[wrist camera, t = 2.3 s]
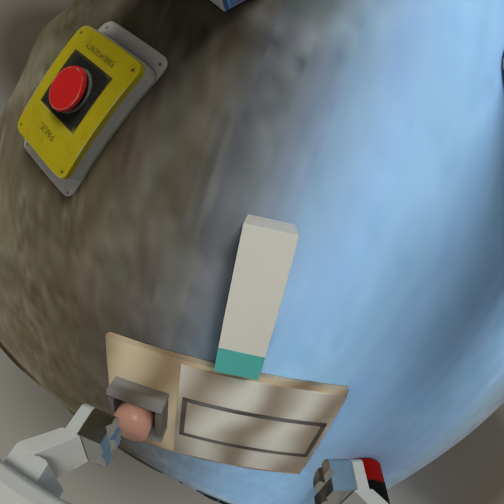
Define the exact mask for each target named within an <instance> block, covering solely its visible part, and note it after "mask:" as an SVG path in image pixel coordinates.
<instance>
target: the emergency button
mask: <svg viewBox="0 0 504 504" xmlns="http://www.w3.org/2000/svg"><path fill="white" fill-rule="evenodd" d="M167 66H168V61H167V59H166V57H165V56H163V55H162V54H160V53H159V52H158V51H156V50H155V49H153V48H152V47H151V46H149V45H148V44H146V43H145V42H143V41H142V40H141V39H139V38H138V37H136V36H135V35H133V34H132V33H130V32H129V31H127V30H126V29H124V28H123V27H121V26H120V25H118V24H116V23H115V22H112V21H110V22H107V23H105V24H104V25H102V26H101V27H100V28H99V29H98V30H96V29H95V28H92V27H89V26H84V27H81V28H80V29H79V30H78V31H77V32H76V33H75V35H74V36H73V37H72V38H71V40H70V41H69V42H68V44H67V45H66V46H65V48H64V49H63V50H62V52H61V53H60V54H59V56H58V57H57V58H56V60H55V61H54V63H53V64H52V66H51V67H50V69H49V70H48V72H47V73H46V75H45V76H44V78H43V79H42V81H41V82H40V84H39V85H38V87H37V89H36V90H35V92H34V94H33V95H32V97H31V99H30V100H29V102H28V104H27V106H26V108H25V109H24V111H23V113H22V115H21V117H20V119H19V122H18V129H19V132H20V133H21V134H22V135H23V137H24V138H25V142H24V147H25V149H26V151H27V152H28V153H29V155H30V156H31V157H32V158H33V160H34V161H35V162H36V163H37V164H38V166H39V167H40V168H41V169H42V170H43V172H44V173H45V174H46V175H47V176H48V178H49V179H50V180H51V181H52V182H53V183H54V185H55V186H56V187H57V188H58V189H59V190H60V192H61V193H62V194H63V195H65V196H66V197H68V196H72V195H73V194H74V193H75V192H76V190H77V189H78V187H79V185H80V184H81V182H82V180H83V179H84V177H85V176H86V174H87V172H88V171H89V169H90V168H91V166H92V165H93V163H94V162H95V160H96V159H97V157H98V156H99V154H100V153H101V151H102V150H103V148H104V147H105V145H106V144H107V143H108V141H109V140H110V138H111V137H112V136H113V134H114V133H115V132H116V130H117V129H118V128H119V126H120V125H121V124H122V122H123V121H124V120H125V118H126V117H127V116H128V114H129V113H130V112H131V111H132V109H133V108H134V107H135V106H136V104H137V103H138V102H139V101H140V100H141V98H142V97H143V96H144V95H145V94H146V92H147V91H148V90H149V89H150V88H151V87H152V85H153V84H154V83H155V82H156V81H157V80H158V79H159V78H160V76H161V75H162V74H163V73H164V72H165V70H166V68H167Z"/></svg>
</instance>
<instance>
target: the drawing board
mask: <svg viewBox="0 0 504 504" xmlns="http://www.w3.org/2000/svg"><path fill="white" fill-rule="evenodd" d="M105 336H106V353H107V366H108V377H109V387H108V388H107V390H106V392H107V395H108V396H107V400H108V407H109V413H110V414H111V415H114V414H115V412H116V410H117V409H118V407H119V405H120V404H121V402H122V401H124V402H127V403H130V404H133V405H135V406H138V407H141V408H144V409H147V410H150V411H153V412H155V421H154V423H153V425H152V427H151V430H150V432H149V434H148V436H147V438H146V440H145V441H143V442H145V443H148V444H151V445H154V446H158V447H161V448H164V449H167V450H171V451H174V452H178V453H181V454H185V455H189V456H192V457H196V458H201V459H205V460H209V461H214V462H218V463H223V464H228V465H233V466H239V467H245V468H251V469H258V470H265V471H273V472H282V473H292V474H299V473H300V472H301V471H302V469H303V468H304V466H305V465H306V464H307V462H308V461H309V459H310V458H311V456H312V454H313V453H314V451H315V450H316V448H317V447H318V445H319V444H320V442H321V440H322V439H323V437H324V436H325V434H326V432H327V431H328V429H329V427H330V426H331V424H332V422H333V420H334V419H335V417H336V415H337V414H338V412H339V410H340V408H341V406H342V405H343V403H344V401H345V399H346V397H347V393H348V392H349V391H348V388H347V386H340V385H332V384H324V383H317V382H310V381H304V380H297V379H291V378H285V377H279V376H274V375H268V374H263V373H260V376H259V379H258V380H254V379H249V378H244V377H239V376H235V375H230V374H226V373H221V372H217V371H214V367H215V363H213V362H209V361H205V360H201V359H197V358H193V357H189V356H186V355H182V354H179V353H175V352H171V351H168V350H165V349H161V348H158V347H155V346H151V345H148V344H145V343H142V342H139V341H136V340H133V339H129V338H127V337H124V336H121V335H118V334H115V333H112V332H108V333H107V334H106V335H105Z"/></svg>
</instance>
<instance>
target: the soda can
mask: <svg viewBox="0 0 504 504" xmlns="http://www.w3.org/2000/svg"><path fill="white" fill-rule="evenodd" d="M359 459H361V460H362V461H363V465H364V469H365V473H366V477H367V481H368V485H369V489H373V490H374V491H375V492H376V493H377V494H378V495H380V496H381V497H382V498H383V499H384V500H385V501H386V502H387V503H388V504H390V502H389V498H388V494H387V490H386V486H385V482H384V478H383V474H382V470H381V466H380V463H379V462H378V461H375V460H373V459H370V458H359Z"/></svg>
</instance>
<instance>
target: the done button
mask: <svg viewBox="0 0 504 504" xmlns="http://www.w3.org/2000/svg"><path fill="white" fill-rule="evenodd" d="M114 416H116V417H119V421H120V423H119V425H118V427H119V428H120V429H121V436H123V437H125V438H127V439H129V440H132V441H136V442H142V441H145V440H146V438H147V436H148V434H149V432H150V430H151V427H152V425H153V423H154V421H155V412H153V411H150V410H147V409H144V408H141V407H138V406H135V405H133V404H130V403H127V402H124V401H122V402H121V404H120V405H119V407H118V409H117V410H116V412H115V414H114Z"/></svg>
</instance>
